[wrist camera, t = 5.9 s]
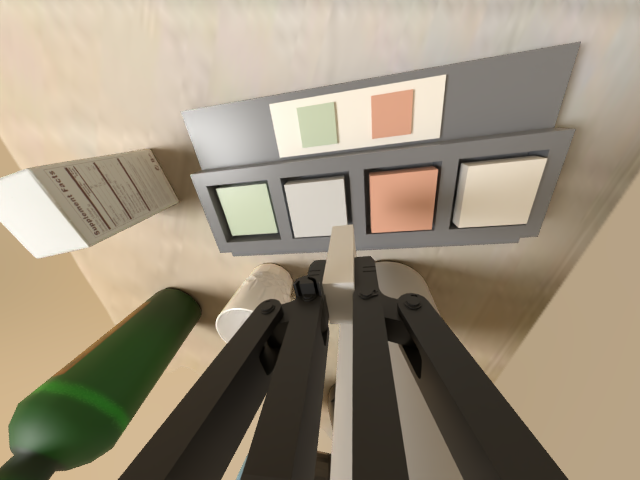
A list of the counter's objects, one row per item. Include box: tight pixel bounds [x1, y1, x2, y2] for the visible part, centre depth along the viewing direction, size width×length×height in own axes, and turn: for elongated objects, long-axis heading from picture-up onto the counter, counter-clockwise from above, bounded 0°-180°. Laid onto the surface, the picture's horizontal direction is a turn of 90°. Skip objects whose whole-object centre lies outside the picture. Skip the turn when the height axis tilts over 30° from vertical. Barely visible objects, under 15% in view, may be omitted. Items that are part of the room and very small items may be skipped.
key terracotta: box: [369, 166, 438, 233], centre depth 23 cm, size 6×6×2 cm
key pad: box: [181, 42, 581, 256], centre depth 25 cm, size 18×36×4 cm, turn 98°
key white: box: [452, 156, 547, 228], centre depth 22 cm, size 6×6×2 cm
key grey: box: [284, 175, 348, 238], centre depth 24 cm, size 6×6×2 cm
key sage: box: [216, 180, 279, 236], centre depth 27 cm, size 6×6×2 cm
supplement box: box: [0, 149, 179, 258], centre depth 25 cm, size 7×7×13 cm
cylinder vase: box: [330, 261, 463, 480], centre depth 24 cm, size 12×12×25 cm
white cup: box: [216, 263, 293, 343], centre depth 32 cm, size 8×8×10 cm
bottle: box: [0, 288, 201, 480], centre depth 29 cm, size 11×11×28 cm
